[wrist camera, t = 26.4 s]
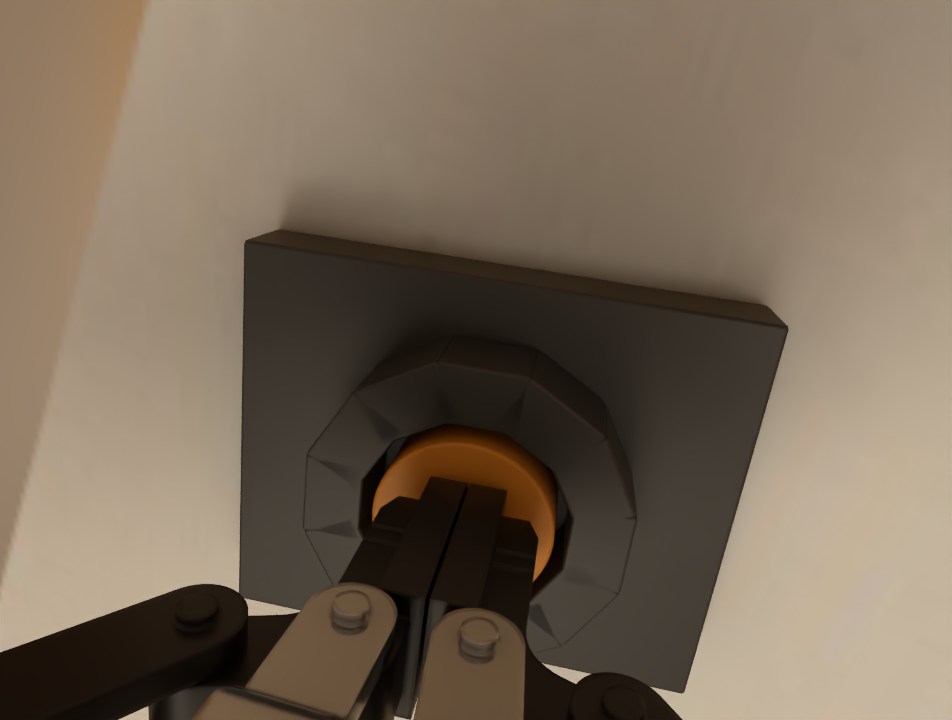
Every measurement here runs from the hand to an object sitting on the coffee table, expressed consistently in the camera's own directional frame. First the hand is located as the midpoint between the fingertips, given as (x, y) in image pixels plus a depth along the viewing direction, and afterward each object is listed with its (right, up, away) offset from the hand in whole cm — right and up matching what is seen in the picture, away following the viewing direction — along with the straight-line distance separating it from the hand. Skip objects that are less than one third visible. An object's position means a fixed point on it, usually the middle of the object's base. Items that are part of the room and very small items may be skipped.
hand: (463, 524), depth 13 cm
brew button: (0, 0, +2) cm, 2 cm away
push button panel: (+1, +1, +3) cm, 4 cm away
